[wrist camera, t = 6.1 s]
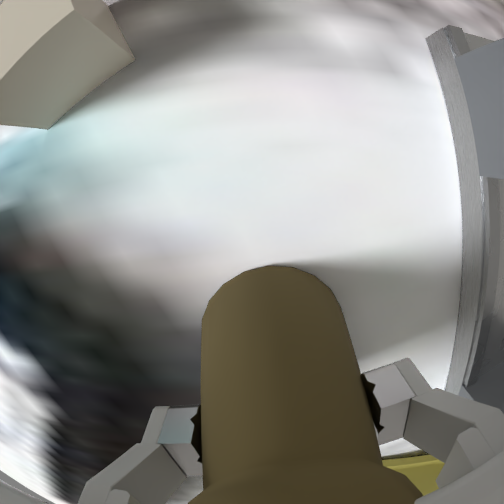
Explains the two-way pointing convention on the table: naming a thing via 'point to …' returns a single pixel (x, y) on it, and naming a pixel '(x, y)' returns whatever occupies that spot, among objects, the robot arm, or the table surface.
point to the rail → (473, 226)
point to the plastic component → (418, 471)
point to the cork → (286, 399)
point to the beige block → (55, 57)
